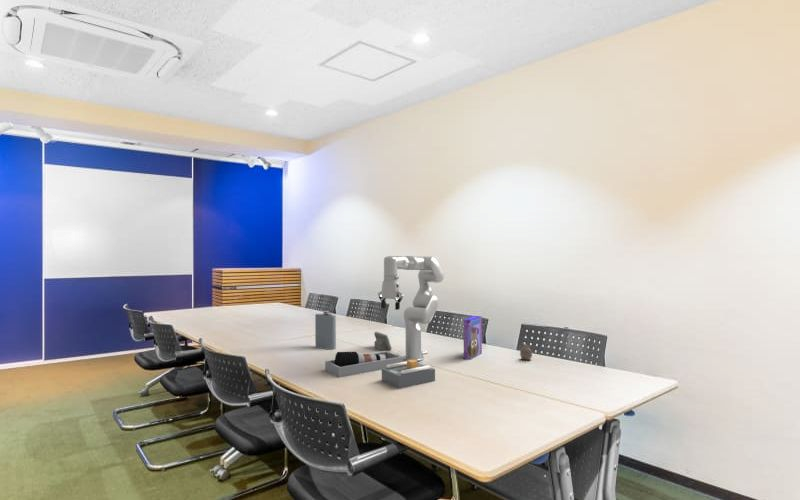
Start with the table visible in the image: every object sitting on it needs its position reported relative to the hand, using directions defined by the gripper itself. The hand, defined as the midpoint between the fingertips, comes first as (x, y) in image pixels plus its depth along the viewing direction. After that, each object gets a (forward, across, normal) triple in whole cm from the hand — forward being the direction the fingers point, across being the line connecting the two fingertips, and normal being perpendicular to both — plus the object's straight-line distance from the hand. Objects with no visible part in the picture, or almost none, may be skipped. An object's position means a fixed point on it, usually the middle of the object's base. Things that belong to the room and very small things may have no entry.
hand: (390, 308), depth 252 cm
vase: (+33, -56, -62) cm, 90 cm away
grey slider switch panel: (+34, -22, +13) cm, 42 cm away
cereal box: (+33, -25, -52) cm, 67 cm away
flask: (+34, +67, -17) cm, 77 cm away
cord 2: (+28, -28, +16) cm, 42 cm away
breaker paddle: (+27, -22, +11) cm, 37 cm away
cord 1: (+28, -15, +11) cm, 34 cm away
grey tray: (+34, +12, +7) cm, 37 cm away
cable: (+34, +13, +6) cm, 37 cm away
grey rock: (+33, +34, -37) cm, 60 cm away
